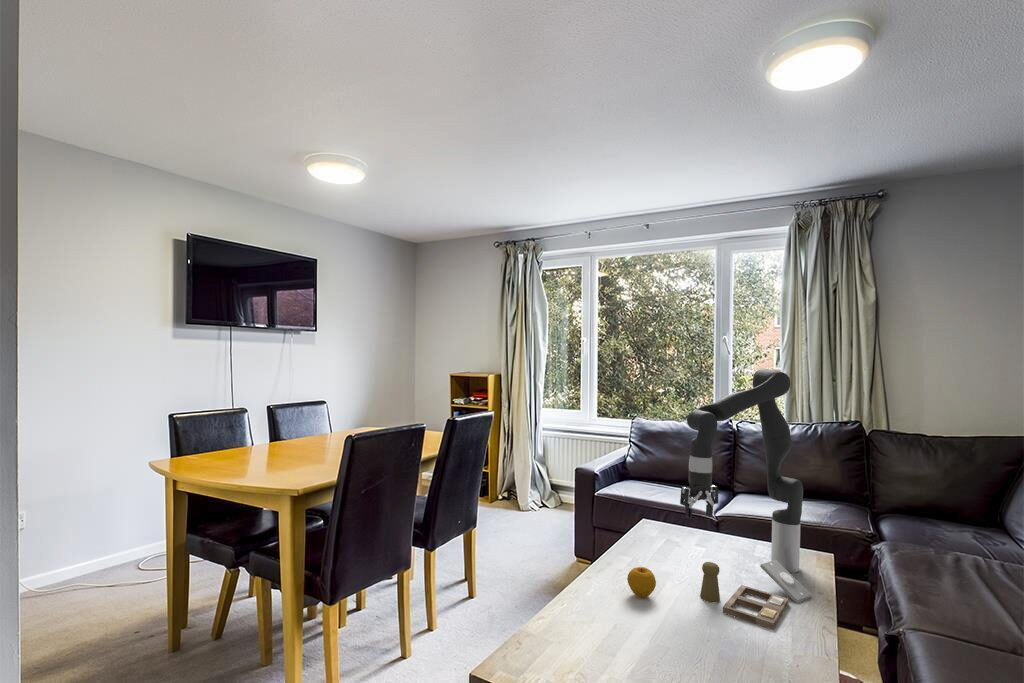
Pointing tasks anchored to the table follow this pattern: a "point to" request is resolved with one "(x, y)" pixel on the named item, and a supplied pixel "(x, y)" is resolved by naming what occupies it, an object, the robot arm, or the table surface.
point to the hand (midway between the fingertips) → (698, 517)
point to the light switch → (786, 581)
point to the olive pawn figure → (710, 582)
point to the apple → (641, 581)
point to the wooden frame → (757, 606)
